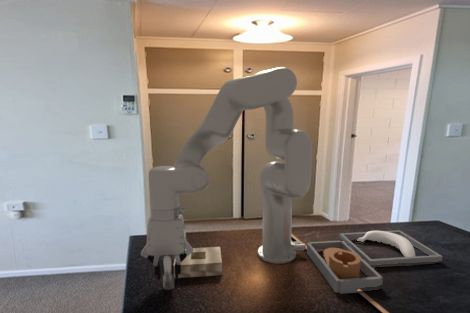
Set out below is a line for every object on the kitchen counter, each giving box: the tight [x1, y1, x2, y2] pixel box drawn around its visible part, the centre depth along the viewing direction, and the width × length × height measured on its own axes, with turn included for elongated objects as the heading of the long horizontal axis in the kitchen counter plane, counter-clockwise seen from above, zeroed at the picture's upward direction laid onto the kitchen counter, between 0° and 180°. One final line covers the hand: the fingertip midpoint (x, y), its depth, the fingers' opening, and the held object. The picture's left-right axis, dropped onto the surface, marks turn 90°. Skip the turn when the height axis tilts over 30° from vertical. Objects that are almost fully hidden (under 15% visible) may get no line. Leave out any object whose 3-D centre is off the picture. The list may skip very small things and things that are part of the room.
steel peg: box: [161, 255, 175, 291], centre depth 79 cm, size 3×3×10 cm
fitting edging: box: [306, 240, 384, 295], centre depth 87 cm, size 13×23×4 cm, turn 6°
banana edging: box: [338, 229, 443, 265], centre depth 98 cm, size 24×20×2 cm
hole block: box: [173, 246, 223, 279], centre depth 89 cm, size 14×10×4 cm
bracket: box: [322, 248, 361, 279], centre depth 87 cm, size 18×8×7 cm, turn 172°
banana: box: [357, 230, 416, 257], centre depth 98 cm, size 5×19×15 cm
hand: (168, 275), depth 79 cm, fingers open, 4 cm apart
